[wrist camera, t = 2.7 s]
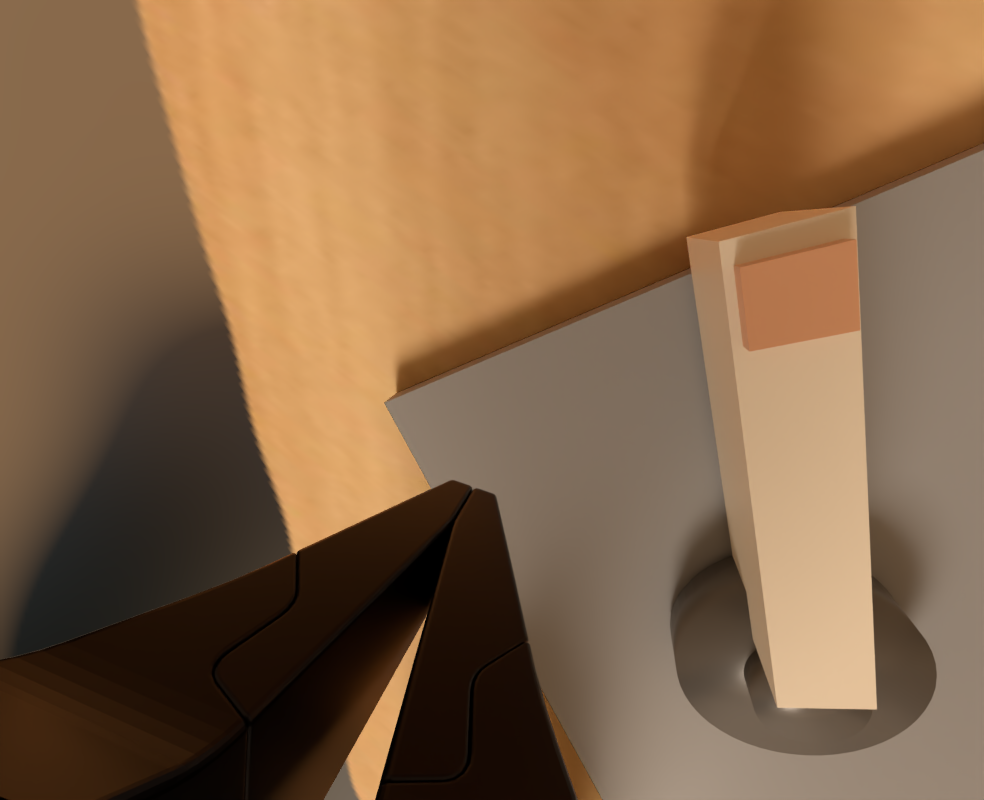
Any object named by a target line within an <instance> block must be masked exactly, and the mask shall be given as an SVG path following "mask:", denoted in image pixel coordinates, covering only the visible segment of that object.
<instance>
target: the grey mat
mask: <svg viewBox="0 0 984 800" xmlns="http://www.w3.org/2000/svg"><path fill="white" fill-rule="evenodd" d="M849 206H856V222H857V246H858V270H859V294H860V317H861V341H862V365H863V389H864V413H865V437H866V460H867V484H868V508H869V532H870V556H871V575H872V576H873V577H875V578H876V579H877V580H878V581H879V582H880V583H881V584H882V585H883V586H884V587H885V588H886V589H887V590H888V592H889V593H890V594H891V595H892V597H893V598H894V599H895V601H896V602H897V603H898V605H899V606H900V607H901V608H902V610H903V611H904V612H905V614H906V615H907V616H908V617H909V619H910V620H911V621H912V623H913V624H914V625H915V627H916V628H917V629H918V630H919V632H920V633H921V634H922V636H923V637H924V638H925V639H926V641H927V643H928V645H929V647H930V649H931V650H932V653H933V656H934V659H935V663H936V671H937V680H936V688H935V691H934V694H933V697H932V699H931V701H930V703H929V705H928V706H927V708H926V710H925V711H924V712H923V713H922V715H921V716H920V717H919V718H918V719H917V720H916V721H915V722H914V723H913V724H912V725H911V726H909V727H908V728H907V729H906V730H904V731H903V732H901V733H900V734H898V735H896V736H895V737H893V738H891V739H889V740H887V741H885V742H883V743H880V744H877V745H875V746H872V747H869V748H866V749H862V750H858V751H854V752H849V753H842V754H835V755H822V756H821V755H795V754H787V753H781V752H775V751H771V750H767V749H763V748H759V747H756V746H753V745H750V744H747V743H745V742H742V741H740V740H738V739H735V738H733V737H731V736H729V735H728V734H726V733H724V732H722V731H720V730H719V729H718V728H716V727H715V726H713V725H712V724H710V723H709V722H708V721H707V720H706V719H704V718H703V717H702V716H701V715H700V714H699V713H698V712H697V711H696V710H695V709H694V707H693V706H692V705H691V704H690V702H689V701H688V699H687V698H686V696H685V695H684V692H683V690H682V688H681V686H680V683H679V680H678V676H677V670H676V664H675V658H674V652H673V645H672V639H671V631H670V618H671V613H672V609H673V606H674V604H675V601H676V599H677V597H678V595H679V594H680V592H681V591H682V589H683V588H684V587H685V586H686V585H687V584H688V582H689V581H690V580H691V579H692V578H694V577H695V576H696V575H697V574H698V573H700V572H701V571H702V570H704V569H706V568H707V567H709V566H710V565H712V564H714V563H716V562H718V561H720V560H723V559H725V558H728V557H730V556H732V549H731V542H730V535H729V528H728V521H727V514H726V507H725V500H724V494H723V487H722V480H721V473H720V466H719V459H718V452H717V445H716V439H715V432H714V425H713V418H712V411H711V404H710V397H709V390H708V383H707V377H706V370H705V363H704V356H703V349H702V342H701V335H700V328H699V321H698V315H697V308H696V301H695V294H694V287H693V280H692V273H691V268H689V269H687V270H685V271H682V272H680V273H677V274H675V275H673V276H670V277H668V278H666V279H663V280H661V281H659V282H656V283H654V284H652V285H649V286H647V287H645V288H642V289H640V290H638V291H635V292H633V293H631V294H628V295H626V296H623V297H621V298H619V299H616V300H614V301H612V302H609V303H607V304H605V305H602V306H600V307H598V308H595V309H593V310H591V311H588V312H586V313H584V314H581V315H579V316H577V317H574V318H572V319H570V320H567V321H565V322H562V323H560V324H558V325H555V326H553V327H551V328H548V329H546V330H544V331H541V332H539V333H537V334H534V335H532V336H530V337H527V338H525V339H523V340H520V341H518V342H516V343H513V344H511V345H508V346H506V347H504V348H501V349H499V350H497V351H494V352H492V353H490V354H487V355H485V356H483V357H480V358H478V359H476V360H473V361H471V362H469V363H466V364H464V365H462V366H459V367H457V368H455V369H452V370H450V371H447V372H445V373H443V374H440V375H438V376H436V377H433V378H431V379H429V380H426V381H424V382H422V383H419V384H417V385H415V386H412V387H410V388H408V389H405V390H403V391H401V392H398V393H396V394H395V395H393V396H392V397H391V398H390V399H388V400H387V401H386V402H385V405H386V407H387V409H388V411H389V412H390V414H391V416H392V418H393V420H394V422H395V423H396V425H397V427H398V429H399V431H400V432H401V434H402V436H403V438H404V440H405V442H406V443H407V445H408V447H409V449H410V451H411V452H412V454H413V456H414V458H415V460H416V462H417V463H418V465H419V467H420V469H421V471H422V472H423V474H424V476H425V478H426V480H427V482H428V483H429V485H430V487H431V489H432V488H434V487H437V486H439V485H441V484H443V483H445V482H447V481H450V480H456V481H458V482H461V483H464V484H467V485H470V486H471V487H472V489H475V488H479V489H482V490H485V491H487V492H490V493H493V494H495V495H496V497H497V501H498V506H499V510H500V515H501V519H502V523H503V528H504V532H505V537H506V541H507V545H508V550H509V554H510V559H511V563H512V567H513V572H514V576H515V581H516V585H517V590H518V594H519V598H520V603H521V607H522V612H523V616H524V620H525V625H526V629H527V634H528V638H529V642H528V643H529V644H530V646H531V650H532V655H533V659H534V663H535V668H536V672H537V676H538V679H539V683H540V687H541V689H542V691H543V693H544V694H545V696H546V698H547V700H548V702H549V704H550V705H551V707H552V709H553V711H554V713H555V714H556V716H557V718H558V720H559V722H560V724H561V725H562V727H563V729H564V731H565V733H566V735H567V736H568V738H569V740H570V742H571V744H572V745H573V747H574V749H575V751H576V753H577V755H578V756H579V758H580V760H581V762H582V764H583V765H584V767H585V769H586V771H587V773H588V775H589V776H590V778H591V780H592V782H593V784H594V785H595V787H596V789H597V791H598V793H599V795H600V796H601V798H602V800H984V143H983V144H980V145H978V146H976V147H973V148H971V149H969V150H966V151H964V152H961V153H959V154H957V155H954V156H952V157H950V158H947V159H945V160H943V161H940V162H938V163H936V164H933V165H931V166H929V167H926V168H924V169H922V170H919V171H917V172H915V173H912V174H910V175H907V176H905V177H903V178H900V179H898V180H896V181H893V182H891V183H889V184H886V185H884V186H882V187H879V188H877V189H875V190H872V191H870V192H868V193H865V194H863V195H861V196H858V197H856V198H854V199H851V200H849V201H846V202H844V203H842V204H839V205H837V206H835V207H832V208H836V207H849Z"/></svg>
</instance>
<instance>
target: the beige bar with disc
mask: <svg viewBox="0 0 984 800" xmlns="http://www.w3.org/2000/svg"><path fill="white" fill-rule="evenodd" d="M686 239H687V246H688V253H689V260H690V266H691V273H692V280H693V287H694V294H695V301H696V308H697V315H698V321H699V328H700V335H701V342H702V349H703V356H704V363H705V370H706V377H707V383H708V390H709V397H710V404H711V411H712V418H713V425H714V432H715V439H716V445H717V452H718V459H719V466H720V473H721V480H722V487H723V494H724V500H725V507H726V514H727V521H728V528H729V535H730V542H731V549H732V556H730V557H728V558H725V559H723V560H720V561H718V562H716V563H714V564H712V565H710V566H709V567H707V568H706V569H704V570H702V571H701V572H700V573H698V574H697V575H696V576H695V577H694V578H692V579H691V580H690V581H689V582H688V584H687V585H686V586H685V587H684V588H683V589H682V591H681V592H680V594H679V595H678V597H677V599H676V601H675V604H674V606H673V609H672V613H671V618H670V631H671V639H672V645H673V652H674V658H675V664H676V670H677V676H678V680H679V683H680V686H681V688H682V690H683V692H684V695H685V696H686V698H687V699H688V701H689V702H690V704H691V705H692V706H693V707H694V709H695V710H696V711H697V712H698V713H699V714H700V715H701V716H702V717H703V718H704V719H706V720H707V721H708V722H709V723H710V724H712V725H713V726H715V727H716V728H718V729H719V730H720V731H722V732H724V733H726V734H728V735H729V736H731V737H733V738H735V739H738V740H740V741H742V742H745V743H747V744H750V745H753V746H756V747H759V748H763V749H767V750H771V751H775V752H781V753H787V754H795V755H821V756H822V755H835V754H842V753H849V752H854V751H858V750H862V749H866V748H869V747H872V746H875V745H877V744H880V743H883V742H885V741H887V740H889V739H891V738H893V737H895V736H896V735H898V734H900V733H901V732H903V731H904V730H906V729H907V728H908V727H909V726H911V725H912V724H913V723H914V722H915V721H916V720H917V719H918V718H919V717H920V716H921V715H922V713H923V712H924V711H925V710H926V708H927V706H928V705H929V703H930V701H931V699H932V697H933V694H934V691H935V688H936V680H937V671H936V663H935V659H934V656H933V653H932V650H931V649H930V647H929V645H928V643H927V641H926V639H925V638H924V637H923V636H922V634H921V633H920V632H919V630H918V629H917V628H916V627H915V625H914V624H913V623H912V621H911V620H910V619H909V617H908V616H907V615H906V614H905V612H904V611H903V610H902V608H901V607H900V606H899V605H898V603H897V602H896V601H895V599H894V598H893V597H892V595H891V594H890V593H889V592H888V590H887V589H886V588H885V587H884V586H883V585H882V584H881V583H880V582H879V581H878V580H877V579H876V578H875V577H873V576H872V575H871V556H870V532H869V508H868V484H867V460H866V437H865V413H864V389H863V365H862V341H861V317H860V294H859V270H858V246H857V222H856V206H849V207H836V208H823V209H810V210H796V211H783V212H777V213H774V214H770V215H766V216H763V217H759V218H755V219H751V220H748V221H744V222H740V223H737V224H733V225H729V226H725V227H722V228H718V229H714V230H711V231H707V232H703V233H699V234H696V235H692V236H688V237H686Z"/></svg>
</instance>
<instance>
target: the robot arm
mask: <svg viewBox="0 0 984 800" xmlns="http://www.w3.org/2000/svg"><path fill="white" fill-rule="evenodd" d="M426 615H427V617H426ZM425 617H426V620H425V624H424V627H423V631H422V634H421V638H420V642H419V645H418V649H417V652H416V656H415V659H414V663H413V667H412V670H411V674H410V677H409V681H408V684H407V688H406V692H405V695H404V699H403V702H402V706H401V709H400V713H399V717H398V720H397V724H396V727H395V731H394V734H393V738H392V742H391V745H390V749H389V752H388V756H387V759H386V763H385V767H384V770H383V774H382V777H381V781H380V785H379V789H378V792H377V795H376V799H375V800H578V799H577V796H576V793H575V791H574V788H573V785H572V782H571V779H570V777H569V774H568V771H567V768H566V765H565V763H564V760H563V757H562V754H561V751H560V748H559V745H558V742H557V739H556V736H555V733H554V730H553V727H552V724H551V721H550V718H549V715H548V712H547V709H546V706H545V702H544V698H543V695H542V691H541V687H540V683H539V679H538V676H537V672H536V668H535V663H534V659H533V655H532V650H531V646H530V644H529V643H528V642H529V638H528V634H527V629H526V625H525V620H524V616H523V612H522V607H521V603H520V598H519V594H518V590H517V585H516V581H515V576H514V572H513V567H512V563H511V559H510V554H509V550H508V545H507V541H506V537H505V532H504V528H503V523H502V519H501V515H500V510H499V506H498V501H497V497H496V495H495V494H493V493H490V492H487V491H485V490H482V489H479V488H475V489H472V487H471V486H470V485H467V484H464V483H461V482H458V481H456V480H450V481H447V482H445V483H443V484H441V485H439V486H437V487H434V488H432V489H430V490H428V491H426V492H424V493H421V494H419V495H417V496H415V497H413V498H411V499H409V500H406V501H404V502H402V503H400V504H398V505H396V506H393V507H391V508H389V509H387V510H385V511H383V512H381V513H378V514H376V515H374V516H372V517H370V518H368V519H365V520H363V521H361V522H359V523H357V524H355V525H353V526H350V527H348V528H346V529H344V530H342V531H340V532H337V533H335V534H333V535H331V536H329V537H327V538H325V539H322V540H320V541H318V542H316V543H314V544H312V545H309V546H307V547H305V548H303V549H301V550H299V551H298V552H297V555H296V554H295V553H292V554H290V555H287V556H285V557H283V558H281V559H279V560H277V561H275V562H272V563H270V564H268V565H266V566H263V567H261V568H259V569H256V570H254V571H252V572H250V573H247V574H245V575H243V576H240V577H238V578H236V579H233V580H231V581H229V582H226V583H223V584H221V585H218V586H216V587H213V588H210V589H208V590H205V591H202V592H200V593H197V594H195V595H192V596H190V597H187V598H184V599H181V600H179V601H176V602H173V603H170V604H168V605H165V606H162V607H159V608H157V609H154V610H151V611H148V612H146V613H143V614H140V615H137V616H135V617H132V618H129V619H126V620H124V621H121V622H118V623H116V624H113V625H110V626H107V627H104V628H102V629H99V630H96V631H93V632H91V633H88V634H85V635H82V636H80V637H77V638H74V639H71V640H69V641H66V642H63V643H60V644H57V645H54V646H51V647H48V648H45V649H42V650H38V651H35V652H31V653H27V654H23V655H20V656H15V657H11V658H5V659H1V660H0V800H324V798H325V796H326V794H327V793H328V791H329V789H330V787H331V785H332V784H333V782H334V780H335V778H336V777H337V775H338V773H339V771H340V769H341V767H342V766H343V764H344V762H345V760H346V759H347V757H348V755H349V753H350V751H351V750H352V748H353V746H354V744H355V743H356V741H357V739H358V737H359V735H360V734H361V732H362V730H363V728H364V726H365V725H366V723H367V721H368V719H369V718H370V716H371V714H372V712H373V710H374V709H375V707H376V705H377V703H378V701H379V700H380V698H381V696H382V694H383V692H384V691H385V689H386V687H387V685H388V684H389V682H390V680H391V678H392V676H393V675H394V673H395V671H396V669H397V667H398V666H399V664H400V662H401V660H402V659H403V657H404V655H405V653H406V651H407V650H408V648H409V646H410V644H411V642H412V641H413V639H414V637H415V635H416V633H417V632H418V630H419V628H420V626H421V625H422V623H423V621H424V619H425Z"/></svg>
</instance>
